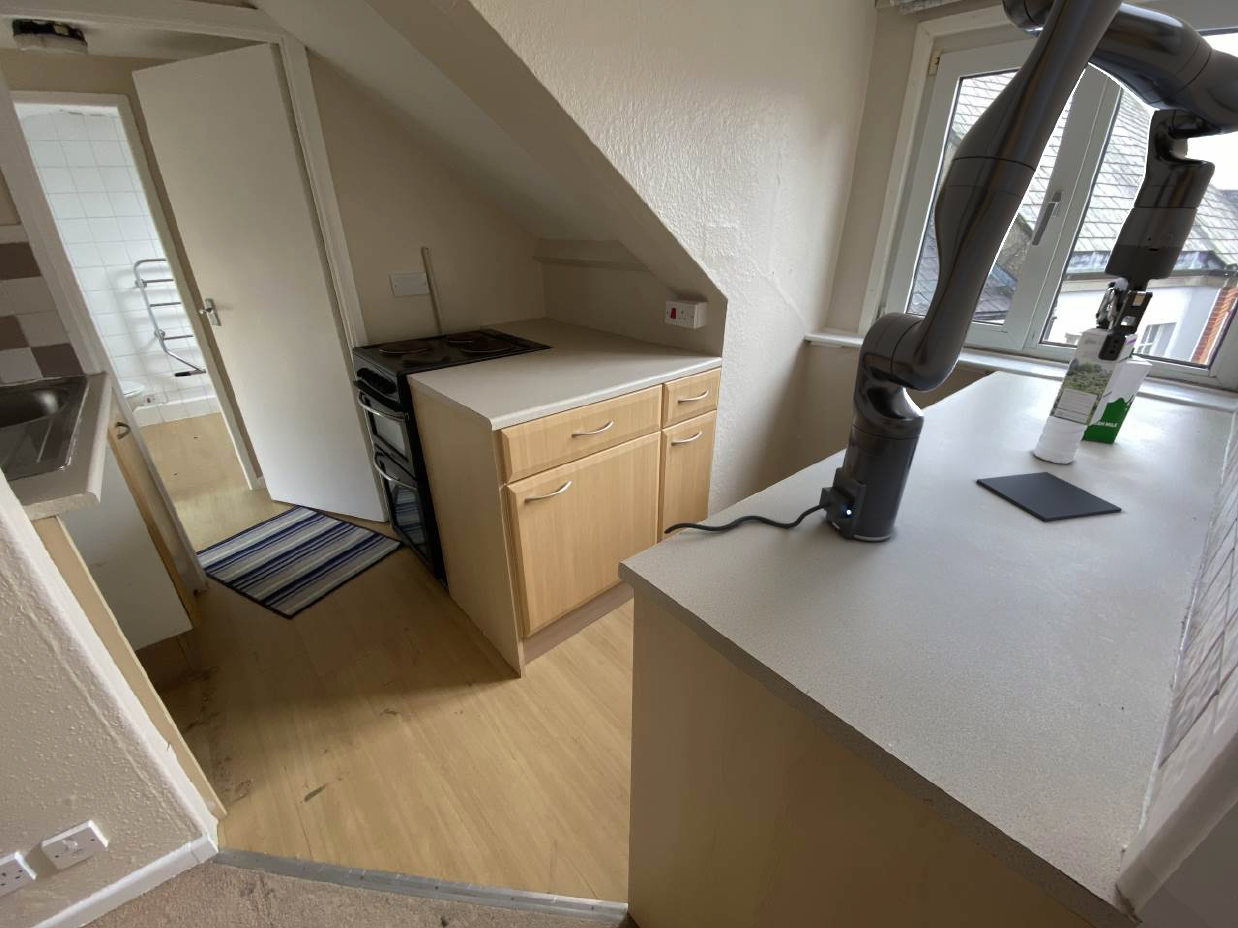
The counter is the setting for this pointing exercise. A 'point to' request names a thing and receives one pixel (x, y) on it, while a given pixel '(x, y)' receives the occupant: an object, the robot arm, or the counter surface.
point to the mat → (1048, 496)
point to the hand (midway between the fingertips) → (1101, 354)
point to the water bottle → (1060, 433)
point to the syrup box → (1090, 379)
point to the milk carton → (1119, 401)
